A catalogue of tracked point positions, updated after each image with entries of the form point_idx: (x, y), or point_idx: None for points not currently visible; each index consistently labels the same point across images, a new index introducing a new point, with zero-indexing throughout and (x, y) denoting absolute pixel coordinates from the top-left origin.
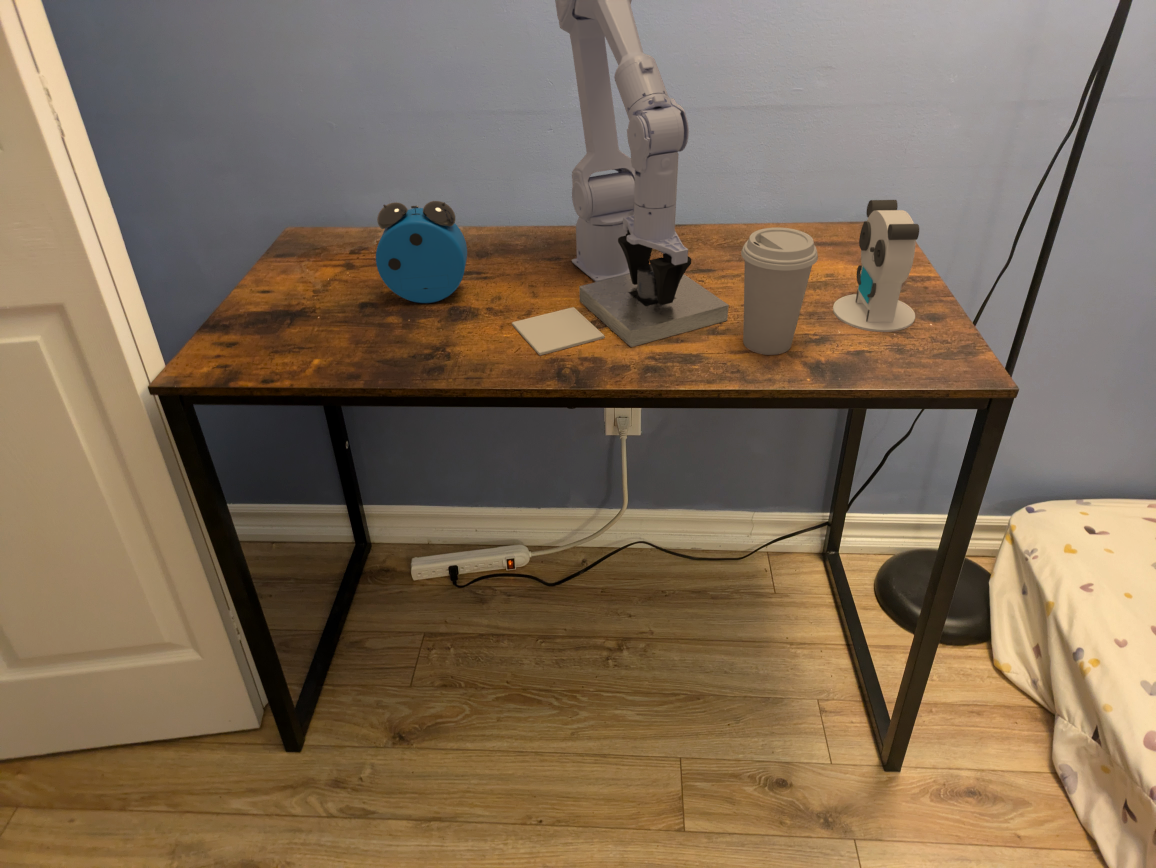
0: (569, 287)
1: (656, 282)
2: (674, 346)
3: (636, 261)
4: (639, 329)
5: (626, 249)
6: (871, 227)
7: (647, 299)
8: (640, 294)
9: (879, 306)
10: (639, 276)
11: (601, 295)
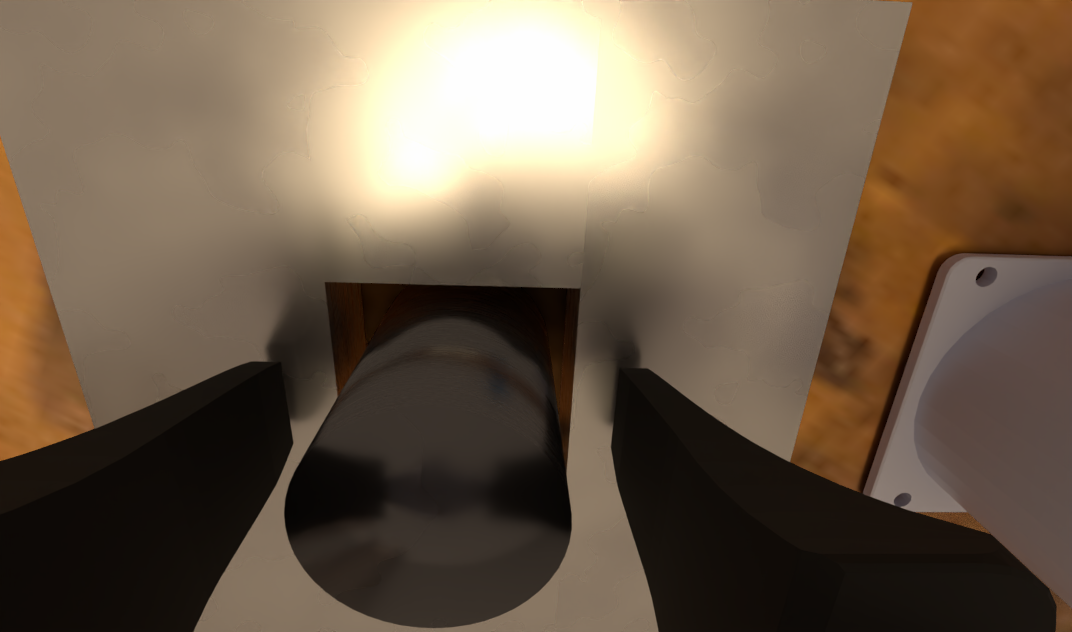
0: (1045, 68)
1: (146, 436)
2: (16, 238)
3: (674, 501)
4: None
5: (756, 521)
6: None
7: (379, 333)
8: (432, 319)
9: None
10: (427, 388)
11: (651, 85)
